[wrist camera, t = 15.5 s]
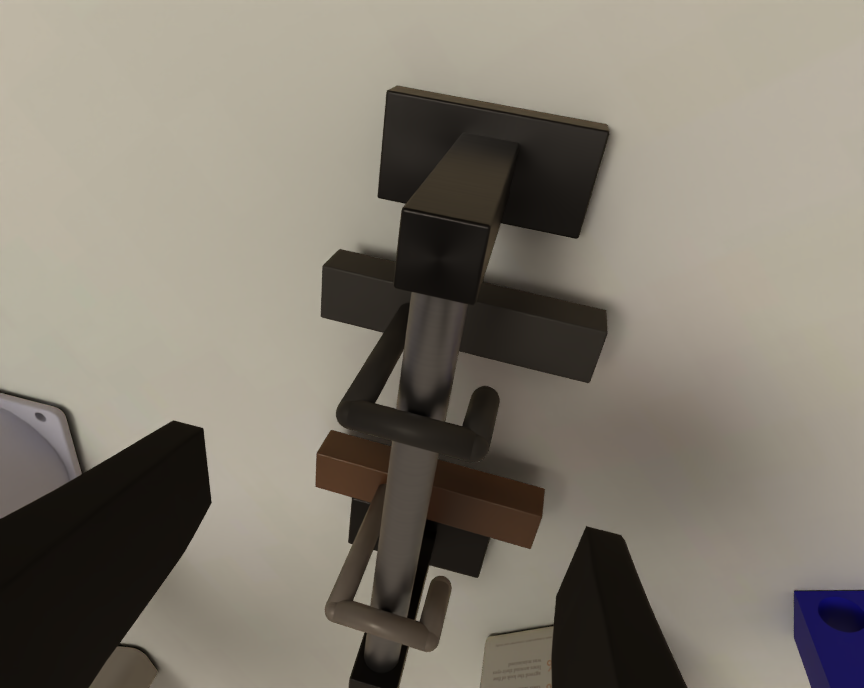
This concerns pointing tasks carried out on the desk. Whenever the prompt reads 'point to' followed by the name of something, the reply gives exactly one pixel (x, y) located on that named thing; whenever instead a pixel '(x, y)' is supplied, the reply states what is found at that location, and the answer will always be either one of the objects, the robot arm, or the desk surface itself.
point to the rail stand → (454, 300)
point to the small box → (518, 660)
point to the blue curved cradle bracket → (831, 637)
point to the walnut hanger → (449, 504)
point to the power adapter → (126, 670)
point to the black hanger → (482, 336)
